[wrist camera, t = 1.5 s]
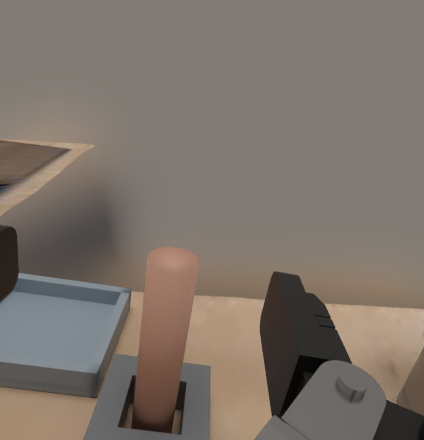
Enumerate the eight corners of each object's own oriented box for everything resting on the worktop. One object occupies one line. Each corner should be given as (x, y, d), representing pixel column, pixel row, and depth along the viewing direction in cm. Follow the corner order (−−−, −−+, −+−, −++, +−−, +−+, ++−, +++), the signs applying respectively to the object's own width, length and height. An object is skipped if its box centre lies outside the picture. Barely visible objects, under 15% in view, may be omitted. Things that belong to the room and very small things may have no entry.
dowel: (173, 415, 30) (200, 250, 24) (168, 454, 27) (198, 276, 21) (135, 411, 30) (152, 243, 24) (126, 449, 27) (142, 268, 21)
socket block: (205, 392, 33) (210, 366, 32) (201, 497, 25) (208, 467, 24) (113, 381, 33) (114, 353, 31) (78, 484, 24) (78, 452, 23)
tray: (129, 308, 43) (131, 288, 42) (96, 397, 31) (96, 373, 30) (9, 292, 42) (7, 271, 41) (-73, 377, 30) (-79, 351, 29)
